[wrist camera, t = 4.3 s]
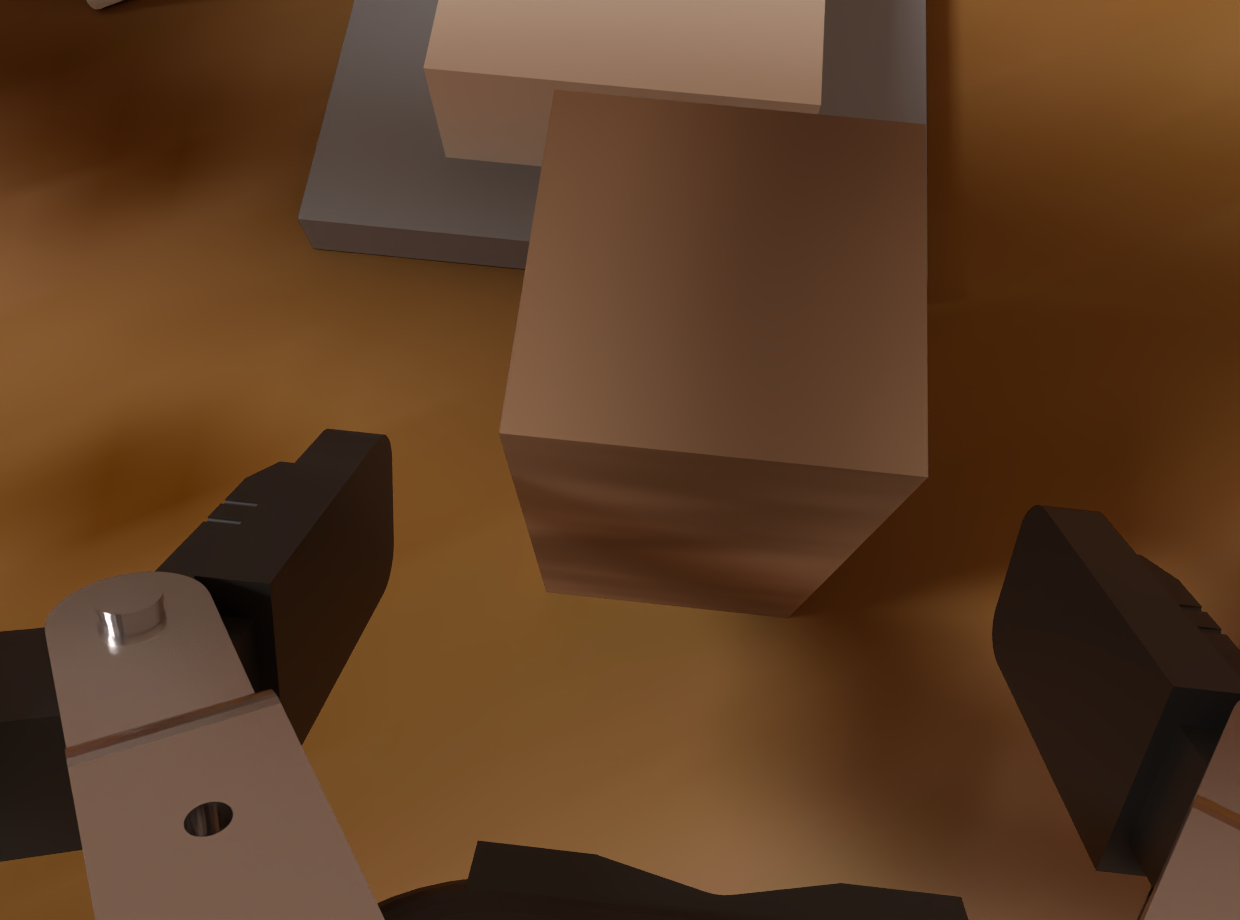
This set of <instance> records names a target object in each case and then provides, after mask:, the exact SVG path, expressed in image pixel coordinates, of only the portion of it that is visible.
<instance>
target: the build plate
mask: <svg viewBox="0 0 1240 920" xmlns="http://www.w3.org/2000/svg"><path fill="white" fill-rule="evenodd" d="M554 90H564V91H575V92H586V93H596V94H607V95H618V96H629V97H639V98H650V99H661V100H671V101H682V102H693V103H703V104H714V105H725V106H736V107H746V108H757V109H768V110H778V111H789V112H800V113H810V114H821V115H832V116H843V117H853V118H864V119H875V120H885V121H896V122H907V123H917V124H926V201H927V107H926V0H354V4H353V7H352V11H351V15H350V19H349V23H348V27H347V31H346V34H345V38H344V42H343V46H342V50H341V54H340V58H339V61H338V65H337V69H336V73H335V77H334V81H333V84H332V88H331V92H330V96H329V100H328V104H327V108H326V111H325V115H324V119H323V123H322V127H321V131H320V135H319V138H318V142H317V146H316V150H315V154H314V158H313V162H312V165H311V169H310V173H309V177H308V181H307V185H306V188H305V192H304V196H303V200H302V204H301V208H300V212H299V215H298V220H299V222H300V224H301V226H302V228H303V230H304V232H305V234H306V235H307V237H308V239H309V241H310V243H311V245H312V247H313V248H314V249H324V250H334V251H344V252H355V253H365V254H375V255H385V256H395V257H405V258H416V259H426V260H436V261H446V262H456V263H466V264H477V265H487V266H497V267H507V268H517V269H525V267H526V261H527V255H528V249H529V242H530V236H531V230H532V224H533V217H534V211H535V205H536V199H537V192H538V186H539V180H540V174H541V167H542V161H543V155H544V149H545V142H546V136H547V130H548V124H549V117H550V111H551V105H552V99H553V92H554ZM927 281H928V258H927Z"/></svg>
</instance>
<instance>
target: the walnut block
mask: <svg viewBox="0 0 1240 920" xmlns="http://www.w3.org/2000/svg"><path fill="white" fill-rule="evenodd" d="M499 435H500V438H501V442H502V445H503V448H504V452H505V455H506V458H507V462H508V465H509V468H510V472H511V475H512V478H513V482H514V485H515V488H516V492H517V495H518V498H519V502H520V505H521V508H522V512H523V515H524V518H525V522H526V525H527V528H528V532H529V535H530V538H531V542H532V545H533V548H534V552H535V555H536V559H537V562H538V565H539V569H540V572H541V575H542V579H543V582H544V585H545V589H546V592H550V593H559V594H568V595H578V596H587V597H596V598H606V599H615V600H624V601H634V602H643V603H653V604H662V605H671V606H681V607H690V608H699V609H709V610H718V611H727V612H737V613H746V614H755V615H765V616H774V617H784V618H789V617H790V616H791V615H792V614H793V613H794V612H795V611H796V610H797V609H798V608H799V607H800V606H801V605H802V604H803V603H804V602H805V601H806V600H807V599H808V598H809V597H810V596H811V595H812V594H813V593H814V592H815V591H816V590H817V589H818V588H819V587H820V586H821V585H822V584H823V583H824V582H825V581H826V580H827V579H828V578H829V577H830V576H831V574H832V573H833V572H834V571H835V570H836V569H837V568H838V567H839V566H840V565H841V564H842V563H843V562H844V561H845V560H846V559H847V558H848V557H849V556H850V555H851V554H852V553H853V552H854V551H855V550H856V549H857V548H858V547H859V546H860V545H861V544H862V543H863V542H864V541H865V540H866V539H867V538H868V537H869V536H870V535H871V534H872V533H873V532H874V531H875V530H876V529H877V528H878V527H879V526H880V525H881V524H882V523H883V522H884V521H885V520H886V519H887V518H888V517H889V516H890V515H891V514H892V513H893V512H894V511H895V510H896V509H897V508H898V507H899V506H900V505H901V504H902V503H903V502H904V501H905V500H906V499H907V498H908V497H909V496H910V495H911V494H912V493H913V492H914V491H915V490H916V489H917V488H918V487H919V486H920V485H921V484H922V483H923V482H924V481H925V480H926V479H927V478H928V367H927V201H926V124H917V123H907V122H896V121H885V120H875V119H864V118H853V117H843V116H832V115H821V114H810V113H800V112H789V111H778V110H768V109H757V108H746V107H736V106H725V105H714V104H703V103H693V102H682V101H671V100H661V99H650V98H639V97H629V96H618V95H607V94H596V93H586V92H575V91H564V90H554V92H553V99H552V105H551V111H550V117H549V124H548V130H547V136H546V142H545V149H544V155H543V161H542V167H541V174H540V180H539V186H538V192H537V199H536V205H535V211H534V217H533V224H532V230H531V236H530V242H529V249H528V255H527V261H526V267H525V274H524V280H523V286H522V292H521V299H520V305H519V311H518V317H517V324H516V330H515V336H514V342H513V349H512V355H511V361H510V367H509V374H508V380H507V386H506V392H505V399H504V405H503V411H502V417H501V424H500V430H499Z"/></svg>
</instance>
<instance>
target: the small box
mask: <svg viewBox="0 0 1240 920" xmlns="http://www.w3.org/2000/svg"><path fill="white" fill-rule="evenodd" d="M86 1H87V2H88V4H89V5H90V6H91V7H92V8H93V9H102V8H104V7H107V6H109V5H112V4H115V3H118V2H120V1H123V0H86Z"/></svg>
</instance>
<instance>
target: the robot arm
mask: <svg viewBox="0 0 1240 920" xmlns="http://www.w3.org/2000/svg"><path fill="white" fill-rule="evenodd" d="M393 549H394V534H393V486H392V452H391V445H390V441H389V439H388V437H387V436H386V435H382V434H372V433H363V432H353V431H344V430H335V429H326V430H324V431H323V432H322V433H321V434H320V435H319V437H318V438H317V439H316V440H315V441H314V442H313V443H312V444H311V445H310V447H309V448H308V449H307V450H306V451H305V452H304V453H303V454H302V455H301V457H300V458H299V459H298V460H297V461H296V462H295V463H289V462H278V463H276V464H274V465H272V466H270V467H268V468H266V469H264V470H261V471H259V472H257V473H255V474H253V475H251V476H249V477H247V478H245V479H244V480H243V481H242V482H241V483H240V485H239V486H238V487H237V488H236V489H235V490H234V491H233V492H232V493H231V494H230V495H229V496H228V497H227V498H226V499H225V504H220V505H219V506H218V507H217V508H216V509H215V510H214V511H213V512H212V513H211V514H210V515H209V516H208V521H207V522H203V523H202V524H201V525H200V526H199V527H198V528H197V529H196V530H195V531H194V532H193V533H192V534H191V535H190V536H189V537H188V538H187V539H186V540H185V541H184V542H183V543H182V544H181V545H180V546H179V547H178V548H177V549H176V550H175V551H174V552H173V553H172V554H171V555H170V556H169V557H168V558H167V559H166V560H165V562H164V563H163V564H162V565H161V566H160V567H159V568H158V569H157V570H156V571H155V572H138V573H130V574H124V575H118V576H114V577H110V578H106V579H103V580H100V581H97V582H95V583H92V584H90V585H87V586H85V587H83V588H81V589H79V590H77V591H75V592H74V593H72V594H70V595H69V596H67V597H66V598H64V599H63V600H62V601H60V602H59V603H58V604H57V605H56V606H55V607H54V608H53V609H52V611H51V612H50V614H49V615H48V617H47V620H46V623H45V627H44V628H36V629H26V630H14V631H2V632H0V862H1V861H8V860H15V859H22V858H28V857H35V856H42V855H49V854H56V853H63V852H70V851H77V850H83V854H84V860H85V865H86V871H87V876H88V882H89V887H90V893H91V898H92V904H93V909H94V915H95V920H968V918H967V915H966V911H965V908H964V905H963V902H962V898H961V897H955V896H946V895H938V894H929V893H921V892H912V891H904V890H895V889H887V888H878V887H869V886H861V885H852V884H844V883H838V884H829V885H820V886H811V887H802V888H793V889H783V890H774V891H765V892H756V893H747V894H737V895H716V894H711V893H707V892H704V891H701V890H698V889H695V888H692V887H689V886H686V885H683V884H681V883H678V882H675V881H672V880H669V879H666V878H663V877H660V876H657V875H654V874H651V873H648V872H645V871H642V870H640V869H637V868H634V867H631V866H628V865H625V864H622V863H619V862H616V861H613V860H610V859H607V858H604V857H601V856H599V855H596V854H587V853H579V852H570V851H562V850H553V849H545V848H536V847H528V846H519V845H511V844H502V843H493V842H485V841H478V842H477V846H476V850H475V854H474V858H473V861H472V865H471V869H470V873H469V877H468V879H465V880H457V881H449V882H445V883H440V884H436V885H431V886H426V887H422V888H418V889H415V890H412V891H409V892H406V893H403V894H400V895H397V896H394V897H391V898H388V899H386V900H384V901H382V902H380V903H376V900H375V898H374V896H373V894H372V892H371V890H370V888H369V886H368V884H367V882H366V880H365V877H364V875H363V873H362V871H361V869H360V867H359V865H358V863H357V861H356V859H355V857H354V855H353V852H352V850H351V848H350V846H349V844H348V842H347V840H346V838H345V836H344V834H343V832H342V829H341V827H340V825H339V823H338V821H337V819H336V817H335V815H334V813H333V811H332V809H331V807H330V804H329V802H328V800H327V798H326V796H325V794H324V792H323V790H322V788H321V786H320V784H319V782H318V779H317V777H316V775H315V773H314V771H313V769H312V767H311V765H310V763H309V761H308V759H307V756H306V754H305V752H304V750H303V748H302V744H303V742H304V740H305V739H306V737H307V735H308V733H309V731H310V729H311V727H312V726H313V724H314V722H315V720H316V718H317V716H318V714H319V713H320V711H321V709H322V707H323V705H324V703H325V701H326V700H327V698H328V696H329V694H330V692H331V690H332V688H333V687H334V685H335V683H336V681H337V679H338V677H339V675H340V673H341V672H342V670H343V668H344V666H345V664H346V662H347V660H348V659H349V657H350V655H351V653H352V651H353V649H354V647H355V646H356V644H357V642H358V640H359V638H360V636H361V634H362V633H363V631H364V629H365V627H366V625H367V623H368V621H369V620H370V618H371V616H372V614H373V612H374V610H375V608H376V607H377V605H378V603H379V601H380V599H381V597H382V595H383V593H384V591H385V589H386V586H387V583H388V580H389V576H390V572H391V567H392V560H393ZM1201 608H1202V606H1201V605H1200V604H1199V603H1198V602H1197V601H1196V600H1195V598H1194V597H1193V596H1192V595H1191V594H1190V593H1189V592H1188V590H1187V589H1186V588H1185V587H1184V586H1183V585H1182V583H1181V582H1180V581H1179V580H1178V579H1176V578H1175V577H1173V576H1172V575H1170V574H1169V573H1167V572H1166V571H1164V570H1163V569H1161V568H1160V567H1158V566H1157V565H1155V564H1154V563H1152V562H1151V561H1149V560H1148V559H1146V558H1145V557H1143V556H1142V555H1137V554H1136V553H1135V552H1134V551H1133V550H1132V548H1131V547H1130V546H1129V545H1128V544H1127V542H1126V541H1125V540H1124V539H1123V538H1122V536H1121V535H1120V534H1119V533H1118V532H1117V530H1116V529H1115V528H1114V527H1113V526H1112V524H1111V523H1110V522H1109V521H1108V520H1107V518H1106V517H1105V516H1104V515H1103V514H1102V513H1100V512H1096V511H1087V510H1078V509H1068V508H1059V507H1049V506H1040V505H1036V506H1033V507H1032V508H1031V509H1030V510H1029V511H1028V512H1027V514H1026V515H1025V517H1024V520H1023V522H1022V525H1021V528H1020V531H1019V534H1018V537H1017V541H1016V544H1015V547H1014V551H1013V554H1012V557H1011V560H1010V564H1009V567H1008V570H1007V574H1006V577H1005V580H1004V583H1003V587H1002V590H1001V593H1000V597H999V600H998V603H997V606H996V610H995V614H994V619H993V629H992V641H993V649H994V654H995V658H996V661H997V663H998V666H999V668H1000V670H1001V672H1002V674H1003V676H1004V678H1005V680H1006V682H1007V684H1008V687H1009V689H1010V691H1011V693H1012V695H1013V697H1014V699H1015V701H1016V703H1017V705H1018V707H1019V710H1020V712H1021V714H1022V716H1023V718H1024V720H1025V722H1026V724H1027V726H1028V728H1029V731H1030V733H1031V735H1032V737H1033V739H1034V741H1035V743H1036V745H1037V747H1038V749H1039V752H1040V754H1041V756H1042V758H1043V760H1044V762H1045V764H1046V766H1047V768H1048V770H1049V773H1050V775H1051V777H1052V779H1053V781H1054V783H1055V785H1056V787H1057V789H1058V791H1059V794H1060V796H1061V798H1062V800H1063V802H1064V804H1065V806H1066V808H1067V810H1068V812H1069V815H1070V817H1071V819H1072V821H1073V823H1074V825H1075V827H1076V829H1077V831H1078V833H1079V836H1080V838H1081V840H1082V842H1083V844H1084V846H1085V848H1086V850H1087V852H1088V854H1089V857H1090V859H1091V861H1092V863H1093V865H1094V867H1095V869H1096V871H1104V872H1113V873H1122V874H1130V875H1139V876H1147V878H1148V880H1149V882H1150V884H1151V886H1152V887H1151V889H1150V891H1149V893H1148V896H1147V898H1146V900H1145V902H1144V904H1143V906H1142V909H1141V911H1140V913H1139V915H1138V918H1137V920H1240V650H1239V649H1238V648H1237V647H1236V645H1235V644H1234V643H1233V642H1232V641H1231V640H1230V639H1229V637H1228V636H1227V635H1224V634H1221V628H1220V627H1219V626H1218V625H1217V624H1216V623H1215V621H1214V620H1213V619H1212V618H1211V617H1210V616H1209V614H1208V613H1207V612H1202V611H1201Z"/></svg>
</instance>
